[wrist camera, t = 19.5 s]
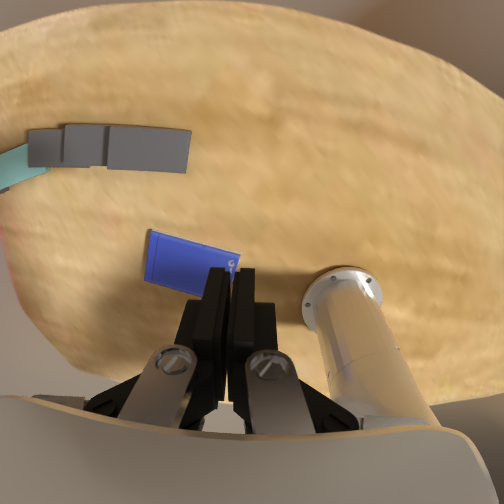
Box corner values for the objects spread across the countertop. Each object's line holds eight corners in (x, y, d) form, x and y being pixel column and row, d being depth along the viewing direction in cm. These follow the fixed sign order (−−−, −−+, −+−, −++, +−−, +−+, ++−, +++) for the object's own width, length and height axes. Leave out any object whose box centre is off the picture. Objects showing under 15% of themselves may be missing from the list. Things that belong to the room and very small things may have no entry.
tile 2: (138, 127, 32) (65, 125, 29) (134, 167, 34) (63, 164, 31) (140, 125, 34) (69, 124, 31) (135, 164, 36) (67, 161, 33)
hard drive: (240, 256, 40) (150, 231, 39) (225, 304, 44) (143, 281, 43) (241, 250, 42) (153, 227, 40) (226, 298, 45) (146, 276, 44)
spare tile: (39, 138, 32) (-11, 159, 30) (46, 172, 34) (-4, 191, 32) (43, 137, 34) (-6, 157, 31) (50, 170, 36) (1, 188, 34)
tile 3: (91, 129, 32) (28, 131, 29) (89, 167, 34) (28, 167, 31) (94, 128, 33) (33, 129, 31) (92, 164, 36) (33, 164, 33)
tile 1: (191, 132, 32) (110, 127, 30) (185, 173, 35) (107, 169, 32) (190, 130, 34) (112, 125, 31) (185, 169, 36) (109, 165, 33)
